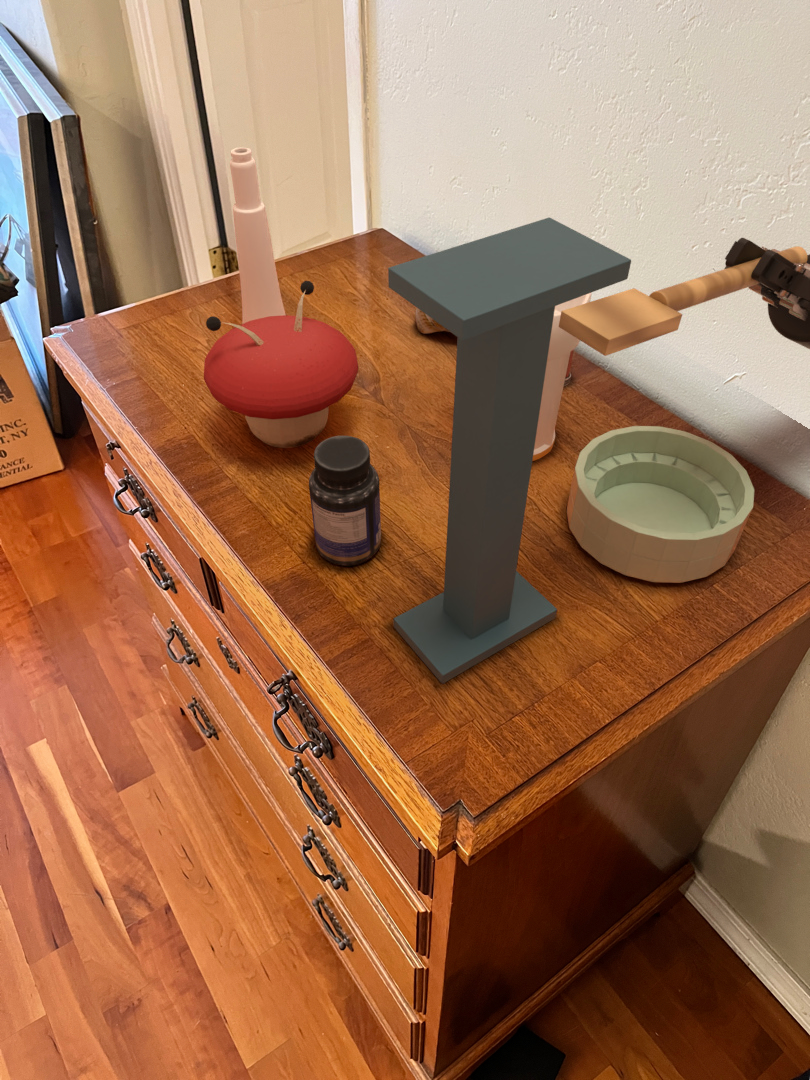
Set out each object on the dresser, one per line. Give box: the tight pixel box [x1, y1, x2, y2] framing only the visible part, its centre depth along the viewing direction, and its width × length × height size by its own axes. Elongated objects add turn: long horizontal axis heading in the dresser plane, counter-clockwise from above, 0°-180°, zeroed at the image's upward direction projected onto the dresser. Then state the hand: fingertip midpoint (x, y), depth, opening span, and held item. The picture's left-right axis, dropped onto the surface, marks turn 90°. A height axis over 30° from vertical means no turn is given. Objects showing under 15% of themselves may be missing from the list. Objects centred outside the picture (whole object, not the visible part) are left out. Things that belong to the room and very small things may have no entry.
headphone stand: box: [387, 217, 632, 685], centre depth 56 cm, size 7×12×32 cm, turn 124°
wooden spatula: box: [559, 245, 808, 357], centre depth 57 cm, size 23×4×2 cm, turn 124°
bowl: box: [566, 425, 755, 584], centre depth 74 cm, size 16×16×6 cm
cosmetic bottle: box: [229, 147, 286, 324], centre depth 93 cm, size 6×6×22 cm
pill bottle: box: [308, 435, 382, 567], centre depth 70 cm, size 6×6×11 cm
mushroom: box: [203, 280, 359, 449], centre depth 81 cm, size 16×16×15 cm
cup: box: [532, 292, 593, 462], centre depth 79 cm, size 11×11×17 cm
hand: (749, 258), depth 58 cm, fingers closed on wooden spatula, 2 cm apart
